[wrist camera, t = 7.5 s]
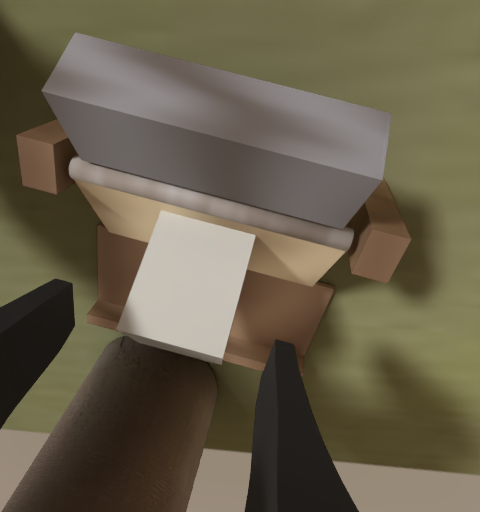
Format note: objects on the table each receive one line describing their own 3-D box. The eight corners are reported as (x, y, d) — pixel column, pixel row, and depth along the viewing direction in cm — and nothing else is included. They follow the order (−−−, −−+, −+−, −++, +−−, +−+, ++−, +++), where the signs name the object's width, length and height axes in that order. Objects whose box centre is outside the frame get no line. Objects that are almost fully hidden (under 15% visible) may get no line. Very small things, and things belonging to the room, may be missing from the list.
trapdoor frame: (100, 305, 26) (48, 375, 21) (98, 103, 19) (16, 134, 13) (300, 360, 26) (297, 445, 21) (383, 177, 18) (411, 239, 13)
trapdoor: (127, 187, 20) (108, 232, 19) (59, 28, 11) (17, 98, 10) (321, 238, 20) (311, 287, 19) (408, 117, 11) (397, 198, 10)
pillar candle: (143, 311, 26) (-21, 584, 13) (245, 387, 28) (186, 677, 16) (81, 368, 31) (-80, 606, 18) (172, 429, 33) (84, 675, 21)
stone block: (172, 246, 19) (138, 342, 17) (160, 210, 15) (116, 329, 13) (248, 266, 19) (221, 365, 17) (255, 235, 15) (222, 358, 13)
